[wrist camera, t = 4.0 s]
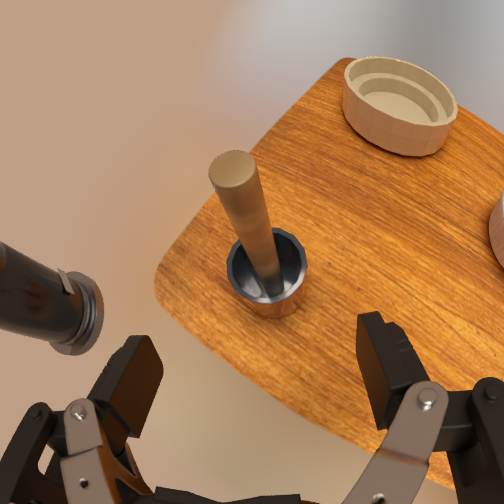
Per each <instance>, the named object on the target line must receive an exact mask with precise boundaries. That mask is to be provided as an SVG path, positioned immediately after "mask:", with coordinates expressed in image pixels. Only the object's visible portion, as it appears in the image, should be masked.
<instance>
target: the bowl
mask: <svg viewBox="0 0 504 504" xmlns="http://www.w3.org/2000/svg"><path fill="white" fill-rule="evenodd" d="M342 108H343V112H344V115H345V118H346V119H347V121H348V122H349V123H350V125H351V126H352V127H353V129H354V130H355V131H357V132H358V133H359V134H360V135H362V136H363V137H364V138H365V139H367V140H368V141H370V142H372V143H374V144H376V145H377V146H379V147H381V148H383V149H386V150H388V151H391V152H395V153H398V154H401V155H408V156H425V155H429V154H433V153H435V152H436V151H438V150H439V149H440V148H441V147H442V146H443V145H444V143H445V141H446V138H447V136H448V134H449V132H450V130H451V128H452V125H453V123H454V121H455V119H456V115H457V112H458V107H457V104H456V101H455V98H454V96H453V95H452V93H451V92H450V90H449V89H448V88H447V87H446V86H445V85H444V84H443V83H442V82H441V81H440V80H439V79H438V78H436V77H435V76H433V75H432V74H430V73H428V72H427V71H426V70H424V69H422V68H420V67H418V66H416V65H413V64H411V63H408V62H406V61H402V60H399V59H395V58H389V57H381V56H374V57H363V58H360V59H357V60H354V61H353V62H352V63H350V64H349V65H348V66H347V67H346V70H345V74H344V86H343V101H342Z"/></svg>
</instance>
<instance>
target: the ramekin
mask: <svg viewBox="0 0 504 504" xmlns="http://www.w3.org/2000/svg"><path fill="white" fill-rule="evenodd" d="M489 237H490V242H491V246H492V249H493V252H494V254H495V256H496V258H497V260H498V261H499V263H500V264H501V266H502V267H503V268H504V190H503V191H502V193H501V196H500V199H499V201H498V202H497V204H496V206H495V207H494V209H493V211H492V213H491V216H490V220H489Z"/></svg>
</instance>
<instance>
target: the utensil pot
mask: <svg viewBox="0 0 504 504" xmlns="http://www.w3.org/2000/svg"><path fill="white" fill-rule="evenodd" d="M272 233H273V237H274V242H275V246H276V250H277V255H278V259H279V264H280V268H281V273H282V277H283V282H284V291H283V293H282V294H280V295H277V296H275V297H272V296H269V295H268V294H267V293H266V291H265V289H264V287H263V285H262V283H261V281H260V279H259V277H258V275H257V273H256V271H255V269H254V267H253V265H252V263H251V261H250V259H249V257H248V255H247V253H246V251H245V249H244V247H243V245H242V243H241V241H240V239H239V240H238V241H237V242H236V243H235V244H234V245H233V246H232V249H231V251H230V253H229V256H228V258H227V262H226V263H227V277H228V280H229V281H230V283H231V285H232V286H233V288H234V290H235V291H236V293H237V294H238V295H239V296H240V297H241V298H242V299H243V300H244V301H245V302H246V304H247V305H248V306H249V307H250V308H251V309H252V310H253V311H255V312H256V313H258V314H259V315H261V316H263V317H267V318H282V317H285V316H288V315H290V314H291V313H293V312H294V311H295V310H296V309H297V308H298V307H299V306H300V304H301V303H302V301H303V298H304V295H305V291H306V282H307V266H308V265H307V260H306V254H305V249H304V248H303V246H302V245H301V244H300V242H299V241H298V240H297V239H296V237H295V236H294V235H292V234H290V233H288V232H286V231H284V230H282V229H280V228H272Z"/></svg>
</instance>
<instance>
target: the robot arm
mask: <svg viewBox="0 0 504 504" xmlns="http://www.w3.org/2000/svg"><path fill="white" fill-rule="evenodd" d="M58 272H59V273H58ZM58 272H56V271H54V270H52V269H50V268H48V267H46V266H44V265H42V264H40V263H38V262H36V261H35V260H33V259H31V258H29V257H27V256H25V255H23V254H22V253H20V252H18V251H16V250H15V249H13V248H11V247H9V246H8V245H6V244H4V243H2V242H0V329H2V330H5V331H9V332H13V333H16V334H20V335H24V336H28V337H32V338H36V339H41V340H45V341H49V342H54V343H57V344H60V345H71V344H74V343H75V342H77V341H78V340H79V339H80V337H81V336H82V335H83V333H84V331H85V329H86V326H87V323H88V319H89V312H90V305H89V298H88V295H87V292H86V290H85V288H84V287H83V285H82V284H81V283H79V282H78V281H76V280H74V279H71V278H68V277H67V276H66V273H65V272H64V271H62V270H60V269H58ZM356 356H357V361H358V364H359V367H360V370H361V374H362V377H363V380H364V384H365V387H366V390H367V394H368V397H369V401H370V404H371V408H372V411H373V415H374V418H375V422H376V426H377V430H378V431H379V430H383V429H386V428H387V430H388V432H387V434H386V436H385V438H384V440H383V441H382V443H381V445H380V447H379V448H378V449H377V450H376V452H375V453H374V455H373V457H372V458H371V460H370V462H369V463H368V465H367V467H366V468H365V470H364V471H363V473H362V475H361V476H360V478H359V479H358V481H357V482H356V484H355V485H354V487H353V488H352V490H351V491H350V493H349V494H348V495H347V497H346V498H345V500H344V501H343V502H342V504H412V502H413V500H414V498H415V496H416V495H417V493H418V491H419V489H420V487H421V484H422V482H423V480H424V478H425V476H426V473H427V471H428V468H429V463H428V461H429V458H430V455H431V453H432V452H441V451H446V453H447V457H448V460H449V464H450V468H451V472H452V476H453V480H454V485H455V489H456V493H457V499H458V504H504V382H502V381H501V380H499V379H497V378H494V377H486V378H483V379H481V380H479V381H478V382H477V383H476V384H475V386H474V388H473V390H466V391H446V390H445V388H444V387H443V386H441V385H440V384H438V383H436V382H433V381H431V380H430V379H429V377H428V375H427V373H426V371H425V369H424V367H423V365H422V363H421V361H420V359H419V357H418V356H417V354H416V352H415V350H414V349H413V346H412V345H411V343H410V341H409V340H408V337H407V336H406V334H405V332H404V330H403V329H402V328H401V327H399V326H398V325H397V324H395V323H394V322H389V323H385V322H384V320H383V319H382V317H381V315H380V313H379V312H378V311H374V312H369V313H364V314H358V316H357V333H356ZM162 377H163V364H162V361H161V359H160V357H159V355H158V353H157V351H156V349H155V347H154V345H153V343H152V341H151V339H150V337H149V336H147V335H133V336H129V337H128V339H127V340H126V342H125V343H124V345H123V347H121V348H120V349H119V350H117V351H116V352H115V353H114V354H113V355H112V356H111V358H110V359H109V361H108V363H107V366H105V368H104V369H103V373H101V374H100V376H99V378H98V379H97V381H96V383H95V384H94V386H93V388H92V390H91V391H90V393H89V395H88V397H87V398H86V399H84V398H82V399H77V400H75V401H73V402H72V403H70V404H69V405H68V407H67V408H66V410H65V411H52V410H51V408H50V407H49V406H48V405H47V404H46V403H43V402H39V403H36V404H34V405H32V406H31V407H30V408H29V409H28V411H27V412H26V414H25V416H24V417H23V419H22V421H21V423H20V424H19V426H18V428H17V430H16V432H15V434H14V435H13V437H12V439H11V441H10V443H9V445H8V447H7V449H6V451H5V453H4V455H3V457H2V459H1V461H0V504H319V503H315V502H310V501H304V500H301V498H300V494H292V495H274V496H258V497H254V498H250V499H244V500H238V501H232V502H226V503H221V502H217V501H214V500H211V499H208V498H205V497H202V496H199V495H196V494H193V493H191V492H188V491H181V490H175V489H169V488H163V487H158V486H157V487H156V490H155V493H153V492H152V491H151V490H150V488H149V487H148V486H147V485H146V483H145V482H144V480H143V478H142V476H141V474H140V472H139V469H138V467H137V465H136V462H135V460H134V457H133V455H132V452H131V450H130V447H129V445H128V443H127V442H126V440H127V438H128V437H133V438H139V437H140V435H141V432H142V429H143V426H144V424H145V421H146V418H147V416H148V413H149V411H150V408H151V405H152V403H153V400H154V398H155V395H156V392H157V389H158V387H159V385H160V382H161V379H162ZM46 444H47V445H48V446H49V447H50V448H52V450H54V454H53V456H52V458H51V460H50V463H49V465H48V467H47V470H46V472H45V475H43V474H42V473H41V472H40V471H39V469H38V461H39V459H40V457H41V454H42V452H43V450H44V448H45V446H46Z"/></svg>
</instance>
